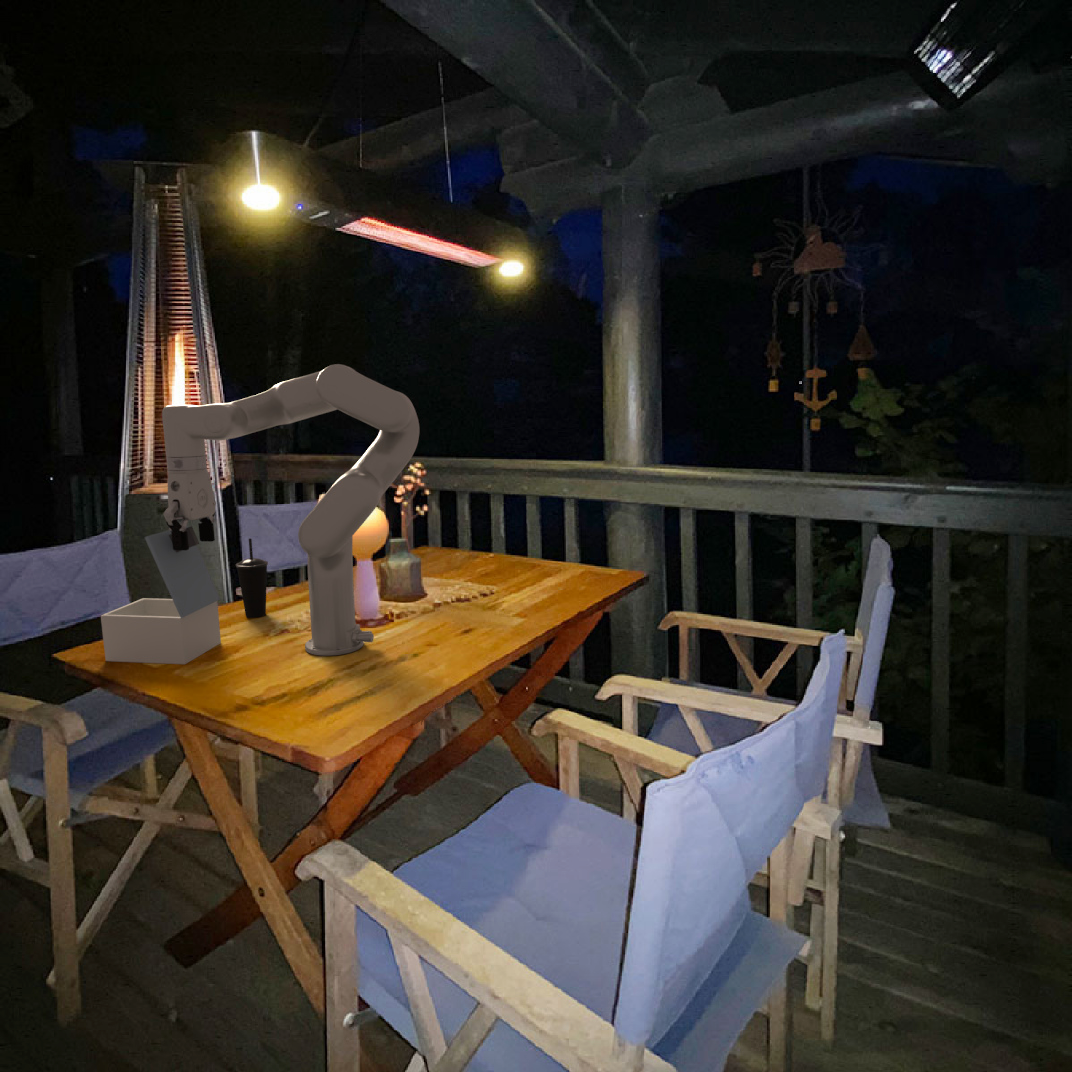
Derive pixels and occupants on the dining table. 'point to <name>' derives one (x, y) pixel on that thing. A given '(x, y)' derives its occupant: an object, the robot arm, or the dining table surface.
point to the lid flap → (183, 572)
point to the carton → (159, 632)
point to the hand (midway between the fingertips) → (194, 545)
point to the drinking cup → (253, 584)
